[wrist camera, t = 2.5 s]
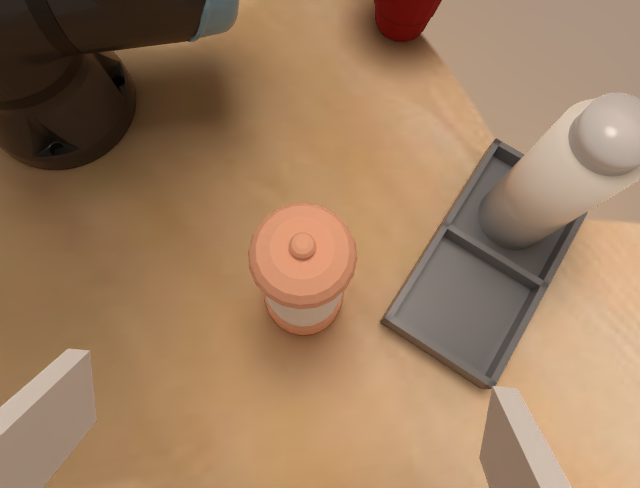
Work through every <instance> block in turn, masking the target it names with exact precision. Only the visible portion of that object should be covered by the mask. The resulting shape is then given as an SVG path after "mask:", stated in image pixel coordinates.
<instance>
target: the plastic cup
mask: <svg viewBox="0 0 640 488" xmlns="http://www.w3.org/2000/svg"><path fill="white" fill-rule="evenodd" d="M441 1H442V0H374V3H375V20H376V24H377V26H378V28H379V31H380V32H381V33H382V34H383V35H384V36H385V37H387V38H389V39H392V40H394V41H402V42H405V41H409V40H413V39H415V38H416V37H417V36H419V35H420V34H421V32H423V30H424V29H425V27H426V25H427V23H428V22H429V20H430V18H431V17H432V16H433V15H434V13H435V11H436V10H437V8H438V6H439V4H440V2H441Z"/></svg>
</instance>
